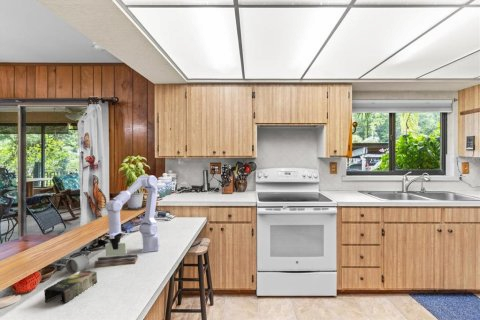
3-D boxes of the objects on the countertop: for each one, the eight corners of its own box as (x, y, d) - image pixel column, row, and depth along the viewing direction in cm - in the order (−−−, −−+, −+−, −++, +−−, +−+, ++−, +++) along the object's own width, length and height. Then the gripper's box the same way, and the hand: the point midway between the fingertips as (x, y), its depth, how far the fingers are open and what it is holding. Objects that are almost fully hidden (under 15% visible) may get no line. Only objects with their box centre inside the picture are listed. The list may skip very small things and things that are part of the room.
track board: (138, 257, 164) (137, 252, 164) (134, 263, 155) (134, 258, 155) (99, 261, 161) (99, 256, 160) (94, 267, 152) (93, 262, 152)
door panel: (126, 252, 159) (126, 241, 159) (125, 254, 157) (125, 243, 157) (107, 254, 158) (106, 243, 157) (105, 256, 156) (105, 244, 155)
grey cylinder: (91, 268, 150) (89, 253, 150) (78, 275, 142) (76, 259, 142) (74, 267, 153) (73, 252, 153) (60, 274, 145) (59, 258, 145)
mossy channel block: (81, 280, 137) (80, 267, 136) (99, 282, 135) (99, 269, 134) (43, 304, 117) (42, 288, 117) (65, 306, 115) (64, 290, 115)
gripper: (110, 220, 163) (111, 244, 164) (102, 227, 149) (104, 253, 150) (123, 219, 165) (125, 243, 165) (117, 226, 150) (118, 252, 151)
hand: (116, 248), depth 157 cm, fingers closed on door panel, 2 cm apart
